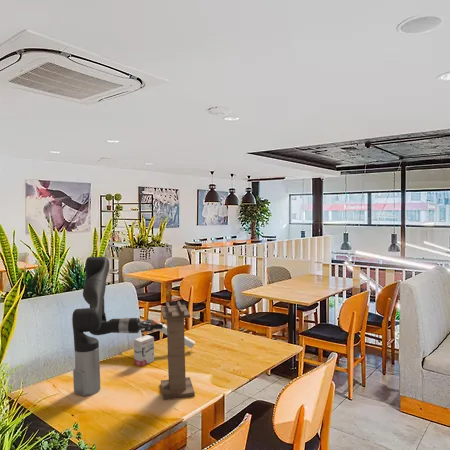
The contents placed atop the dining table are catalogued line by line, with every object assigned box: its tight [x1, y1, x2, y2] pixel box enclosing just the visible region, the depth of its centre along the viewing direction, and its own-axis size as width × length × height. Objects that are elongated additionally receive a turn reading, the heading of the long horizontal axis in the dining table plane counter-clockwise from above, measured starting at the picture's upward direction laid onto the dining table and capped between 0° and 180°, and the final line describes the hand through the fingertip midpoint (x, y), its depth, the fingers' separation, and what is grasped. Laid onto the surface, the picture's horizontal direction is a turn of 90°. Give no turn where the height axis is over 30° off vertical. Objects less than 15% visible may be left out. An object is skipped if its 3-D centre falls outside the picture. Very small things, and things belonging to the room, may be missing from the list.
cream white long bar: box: [151, 318, 196, 350], centre depth 198 cm, size 24×3×3 cm, turn 89°
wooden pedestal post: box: [160, 300, 196, 401], centre depth 155 cm, size 16×12×34 cm
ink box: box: [133, 334, 155, 367], centre depth 184 cm, size 9×5×12 cm, turn 143°
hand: (163, 325), depth 198 cm, fingers closed on cream white long bar, 3 cm apart
